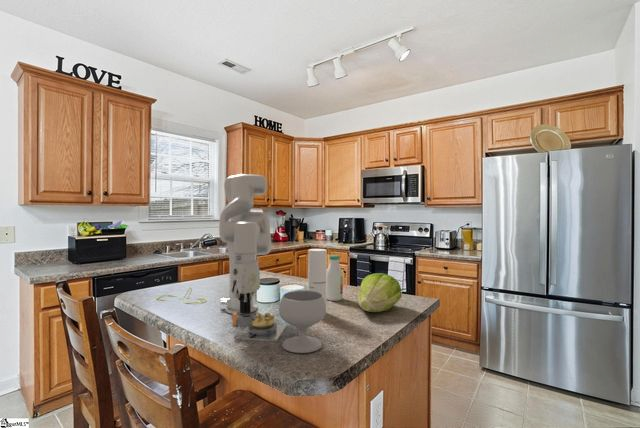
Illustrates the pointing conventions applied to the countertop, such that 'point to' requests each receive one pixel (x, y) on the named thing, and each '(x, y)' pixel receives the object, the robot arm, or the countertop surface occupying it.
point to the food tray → (253, 320)
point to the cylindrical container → (317, 271)
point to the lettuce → (378, 292)
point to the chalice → (302, 318)
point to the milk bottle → (334, 280)
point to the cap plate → (262, 338)
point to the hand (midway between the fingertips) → (245, 312)
